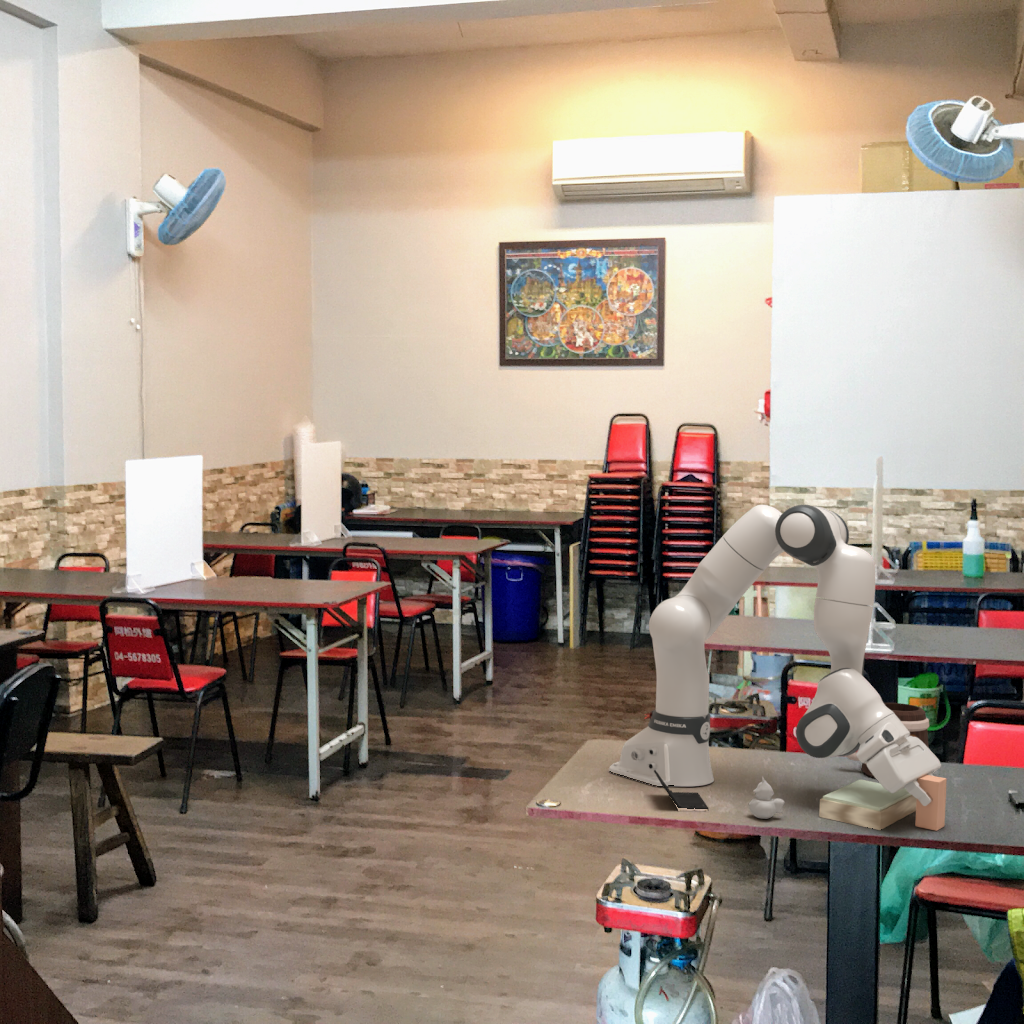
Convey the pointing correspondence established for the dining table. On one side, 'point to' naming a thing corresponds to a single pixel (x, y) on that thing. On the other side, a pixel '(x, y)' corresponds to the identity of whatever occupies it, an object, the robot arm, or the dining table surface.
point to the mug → (911, 720)
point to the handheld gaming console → (684, 797)
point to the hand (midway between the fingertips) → (934, 800)
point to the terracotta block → (932, 803)
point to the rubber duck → (765, 802)
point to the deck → (867, 805)
